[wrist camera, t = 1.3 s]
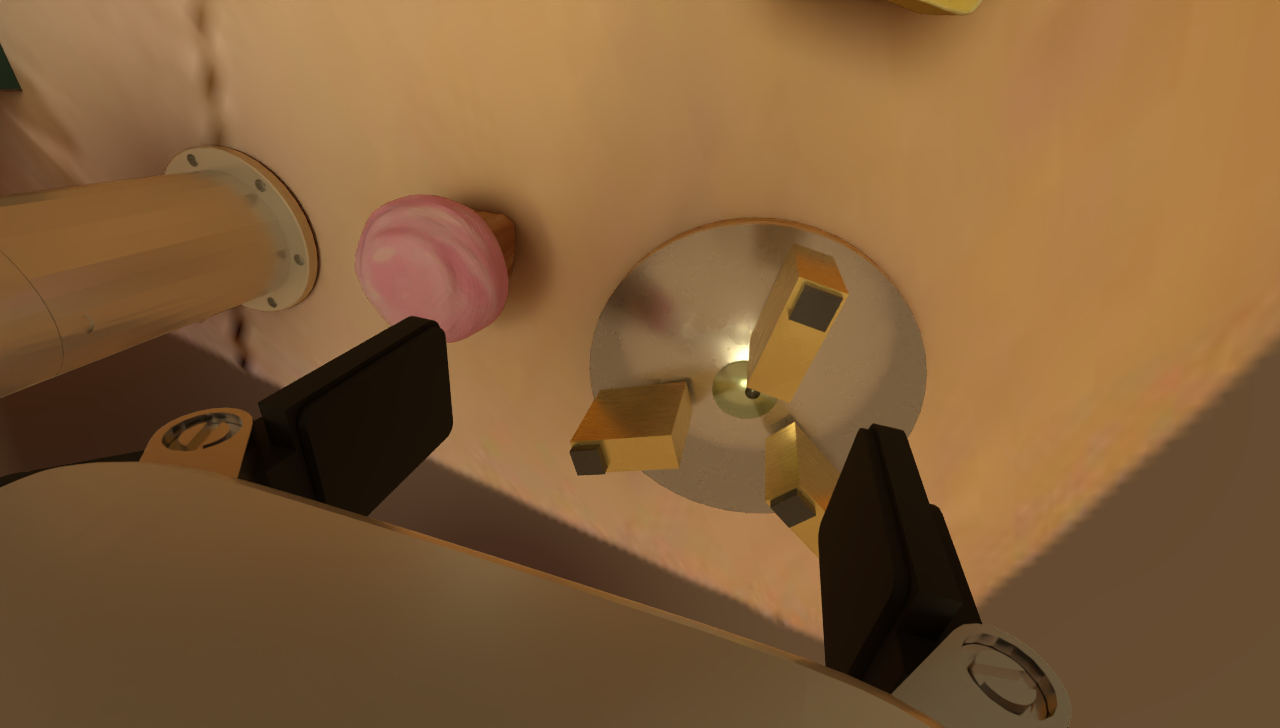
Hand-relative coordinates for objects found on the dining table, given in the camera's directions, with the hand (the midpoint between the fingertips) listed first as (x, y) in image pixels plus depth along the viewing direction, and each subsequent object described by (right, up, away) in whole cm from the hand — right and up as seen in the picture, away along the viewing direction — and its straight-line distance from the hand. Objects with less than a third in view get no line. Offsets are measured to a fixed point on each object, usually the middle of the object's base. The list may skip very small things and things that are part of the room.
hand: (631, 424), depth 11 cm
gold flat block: (+12, -5, +24) cm, 27 cm away
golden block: (+1, -1, +25) cm, 25 cm away
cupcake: (-11, +10, +25) cm, 29 cm away
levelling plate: (+8, +1, +25) cm, 26 cm away
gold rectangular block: (+9, +5, +19) cm, 22 cm away
